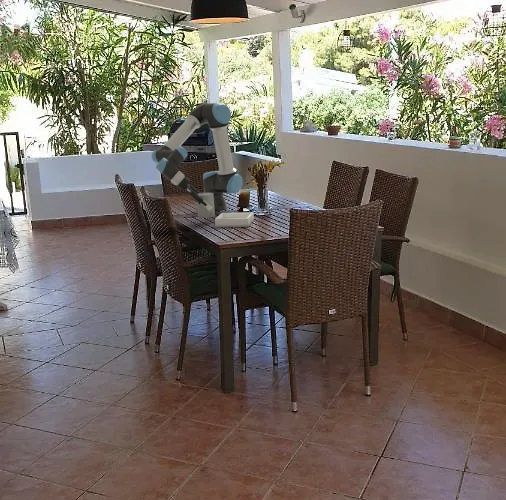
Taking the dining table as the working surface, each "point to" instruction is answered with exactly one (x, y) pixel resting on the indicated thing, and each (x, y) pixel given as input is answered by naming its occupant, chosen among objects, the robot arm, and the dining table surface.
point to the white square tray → (234, 219)
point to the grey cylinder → (201, 209)
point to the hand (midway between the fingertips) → (211, 207)
